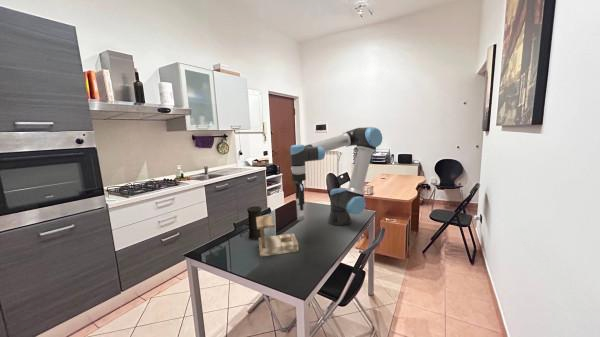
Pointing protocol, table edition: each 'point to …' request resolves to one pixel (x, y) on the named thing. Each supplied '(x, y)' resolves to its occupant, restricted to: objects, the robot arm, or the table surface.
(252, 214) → the container
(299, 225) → the table surface
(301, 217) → the peg
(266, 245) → the socket station
